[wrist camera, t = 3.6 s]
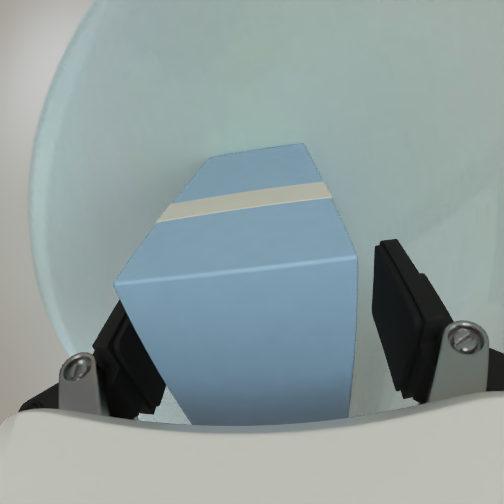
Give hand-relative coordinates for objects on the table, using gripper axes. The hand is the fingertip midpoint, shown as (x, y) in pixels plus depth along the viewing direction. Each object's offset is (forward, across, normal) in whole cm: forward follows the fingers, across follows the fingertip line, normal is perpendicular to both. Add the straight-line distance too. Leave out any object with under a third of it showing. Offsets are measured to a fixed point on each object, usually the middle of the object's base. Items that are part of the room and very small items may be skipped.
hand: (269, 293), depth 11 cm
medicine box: (+4, 0, 0) cm, 4 cm away
